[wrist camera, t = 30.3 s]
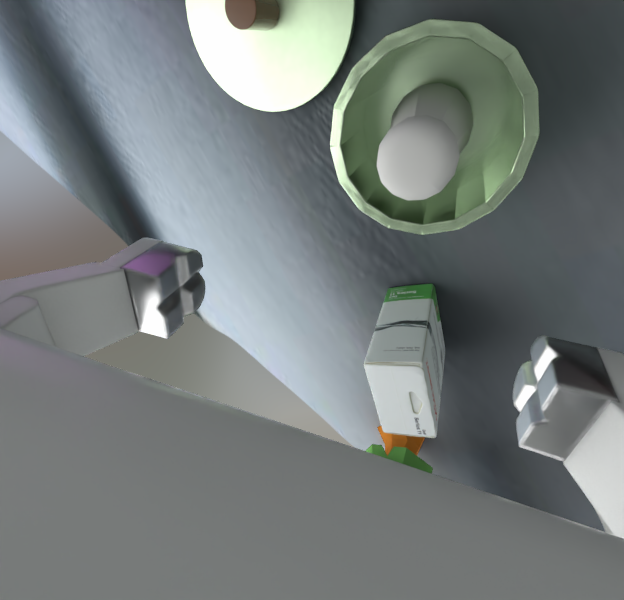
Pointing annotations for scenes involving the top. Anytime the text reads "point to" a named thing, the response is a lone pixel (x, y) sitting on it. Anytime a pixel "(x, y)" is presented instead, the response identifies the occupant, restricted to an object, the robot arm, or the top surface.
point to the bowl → (485, 112)
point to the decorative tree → (401, 450)
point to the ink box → (407, 361)
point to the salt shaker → (424, 141)
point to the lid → (272, 47)
